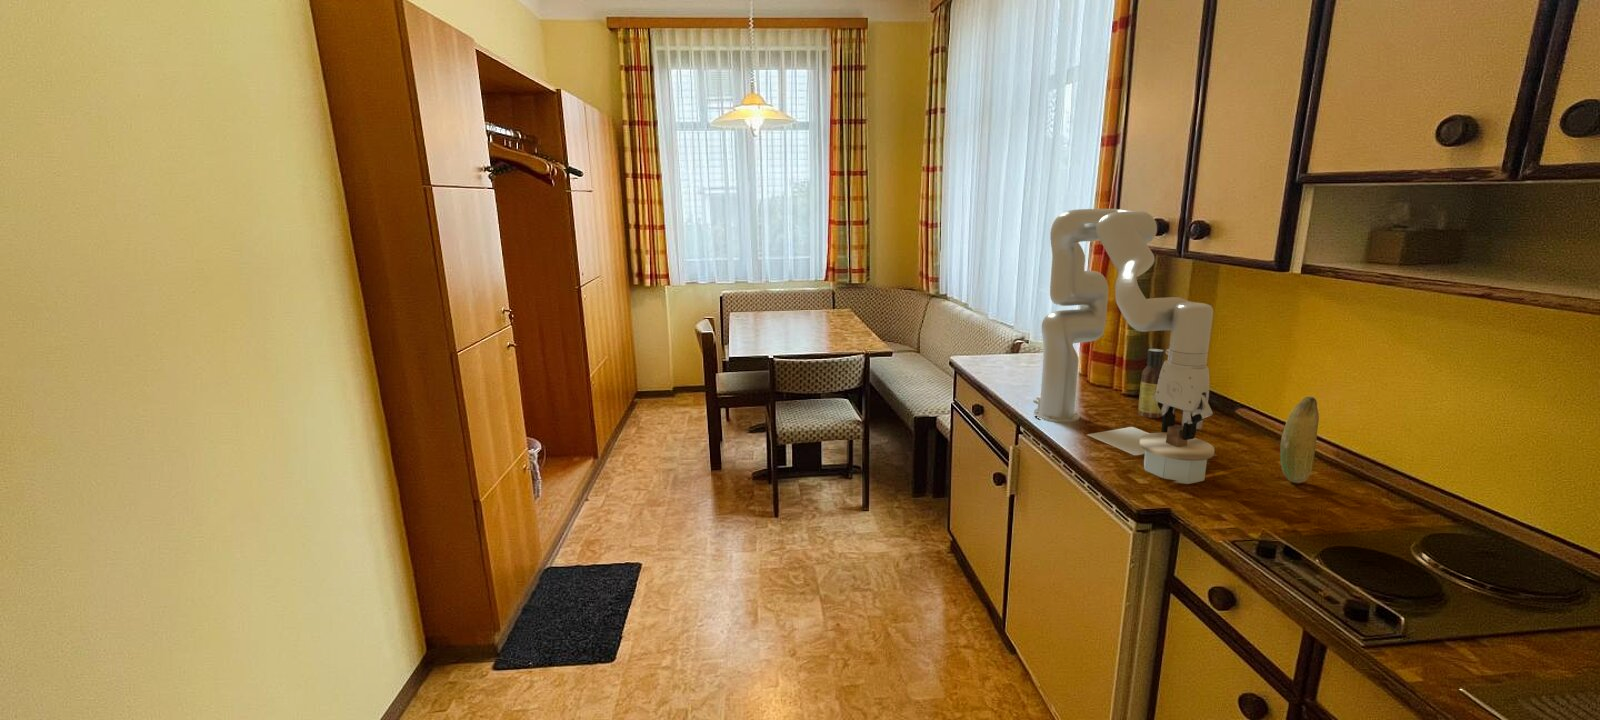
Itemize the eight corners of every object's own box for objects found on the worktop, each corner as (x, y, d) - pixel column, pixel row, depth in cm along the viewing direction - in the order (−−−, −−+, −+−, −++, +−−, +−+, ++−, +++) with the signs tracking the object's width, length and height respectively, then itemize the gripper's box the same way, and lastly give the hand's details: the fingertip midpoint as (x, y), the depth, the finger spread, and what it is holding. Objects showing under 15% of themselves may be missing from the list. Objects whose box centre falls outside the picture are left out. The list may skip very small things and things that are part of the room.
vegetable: (1303, 490, 140) (1318, 402, 135) (1269, 481, 145) (1283, 396, 140) (1313, 483, 143) (1328, 397, 139) (1280, 474, 148) (1294, 391, 144)
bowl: (1132, 466, 154) (1134, 443, 153) (1169, 459, 158) (1172, 436, 157) (1176, 486, 143) (1179, 461, 142) (1215, 478, 147) (1219, 453, 146)
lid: (1124, 441, 154) (1126, 421, 153) (1172, 433, 159) (1174, 413, 157) (1179, 464, 140) (1182, 443, 139) (1230, 454, 145) (1233, 433, 144)
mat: (1086, 436, 174) (1086, 434, 174) (1131, 428, 179) (1132, 426, 179) (1134, 457, 159) (1134, 455, 159) (1182, 448, 165) (1183, 446, 165)
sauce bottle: (1164, 420, 185) (1172, 353, 181) (1141, 419, 187) (1148, 352, 182) (1157, 413, 192) (1164, 348, 187) (1134, 412, 193) (1141, 347, 188)
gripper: (1143, 352, 151) (1134, 425, 155) (1210, 368, 135) (1199, 450, 140) (1167, 349, 153) (1158, 421, 157) (1235, 365, 138) (1224, 445, 142)
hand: (1177, 434), depth 148 cm, fingers open, 4 cm apart
